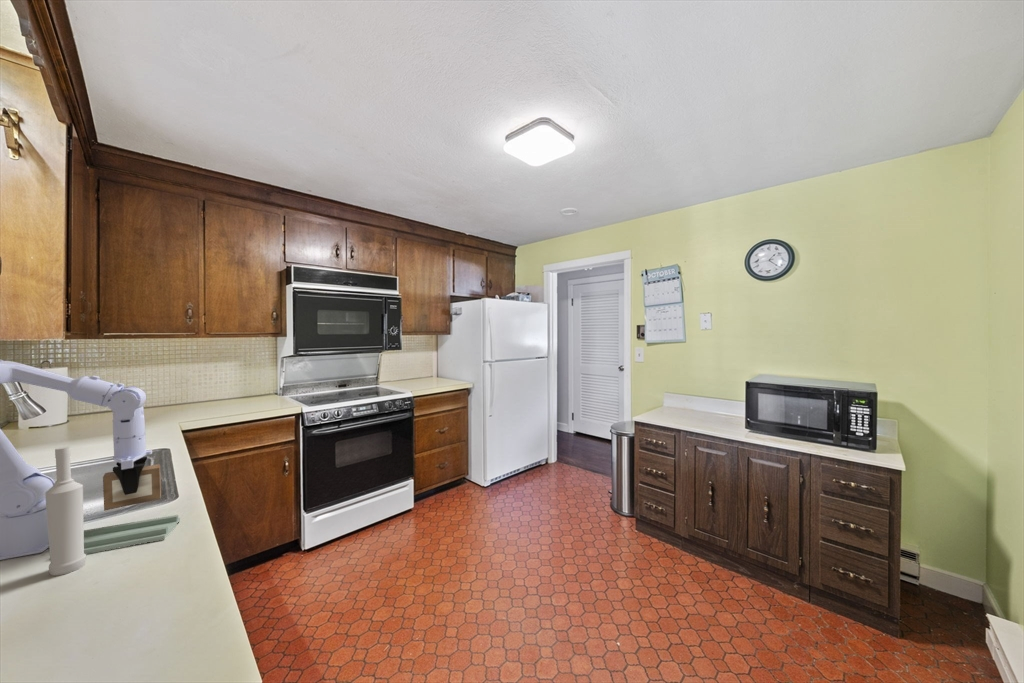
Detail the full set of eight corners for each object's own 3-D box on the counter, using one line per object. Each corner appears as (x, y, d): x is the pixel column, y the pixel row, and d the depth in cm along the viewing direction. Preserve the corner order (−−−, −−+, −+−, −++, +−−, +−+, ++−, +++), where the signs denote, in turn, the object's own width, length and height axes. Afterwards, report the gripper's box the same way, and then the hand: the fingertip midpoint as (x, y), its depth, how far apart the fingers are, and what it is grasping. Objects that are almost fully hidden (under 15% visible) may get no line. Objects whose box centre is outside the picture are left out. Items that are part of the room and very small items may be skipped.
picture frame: (104, 510, 94) (102, 477, 94) (106, 505, 97) (105, 472, 97) (160, 499, 101) (159, 467, 100) (161, 494, 104) (160, 463, 104)
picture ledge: (58, 559, 85) (58, 549, 85) (85, 537, 95) (84, 528, 94) (164, 539, 93) (164, 530, 93) (180, 521, 102) (179, 513, 102)
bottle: (61, 577, 79) (55, 452, 78) (41, 575, 80) (35, 451, 79) (93, 562, 84) (88, 444, 83) (74, 560, 85) (69, 443, 84)
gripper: (149, 438, 95) (151, 494, 96) (153, 428, 107) (155, 478, 107) (107, 444, 91) (110, 503, 91) (116, 433, 102) (118, 485, 102)
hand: (131, 490), depth 99 cm, fingers closed on picture frame, 4 cm apart
